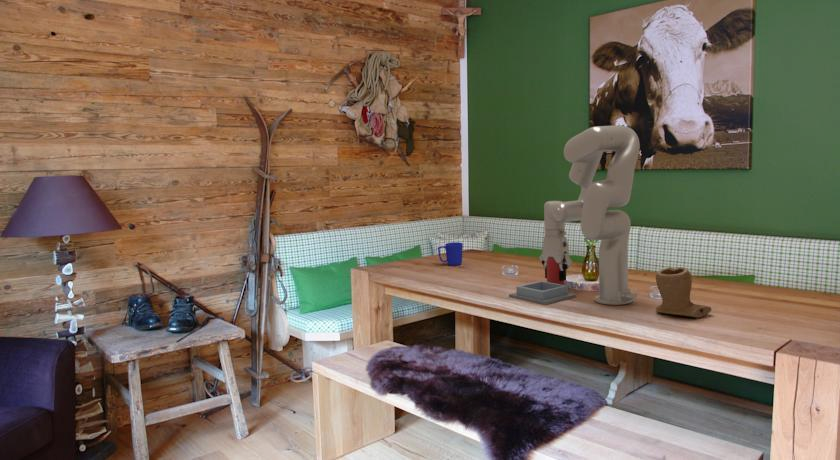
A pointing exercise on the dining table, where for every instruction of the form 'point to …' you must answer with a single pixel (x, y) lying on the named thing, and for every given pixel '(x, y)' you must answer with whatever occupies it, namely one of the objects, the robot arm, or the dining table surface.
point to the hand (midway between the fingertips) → (555, 278)
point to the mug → (452, 253)
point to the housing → (542, 292)
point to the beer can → (553, 271)
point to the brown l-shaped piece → (678, 293)
